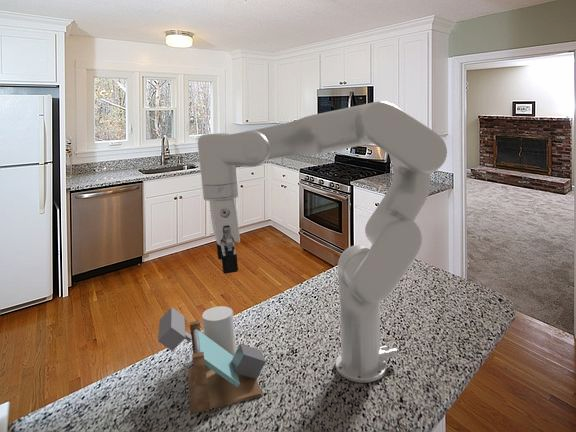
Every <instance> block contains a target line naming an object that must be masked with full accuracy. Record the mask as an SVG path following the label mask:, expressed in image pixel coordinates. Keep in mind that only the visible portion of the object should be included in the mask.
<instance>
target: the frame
mask: <svg viewBox="0 0 576 432" xmlns="http://www.w3.org/2000/svg"><path fill="white" fill-rule="evenodd" d="M200 323H201V322H200V320H195V321H189V330H190V335H191V337H192V340H191V346H192V347H191V348H192V353H191V356H192V357H191V358H192V367H190V368H187V380H188V382H187V383H188V395H189V396H188V399H189V413H190V414H195V413H202V412H205V411H210V410H212V409H215V408H218V407H223V406H227V405H233V404H235V403H240V402H244V401H247V400H252V399H256V398H261V397H263V393H262V391H261V388H260V385H259V381H258V378H257V379H254V378H250V377H247V376H244V375H240V374H238V378H239V382H240V385H239V386H238V387H236V386H234V385H233V384H232V383H230V382H229V381H227V380H226V379H224V378H223V377H222V376H220V375H219V374H217V373H216V372H214V371H213V370H211V369H210V368H209V367H207V366H206V365H205V360H204V352H200V353H195V342H194V332H193V330H194V329H195V328H197V330H199V331H200V332H201V333H202V331H201V324H200Z"/></svg>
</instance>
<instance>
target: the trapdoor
mask: <svg viewBox="0 0 576 432" xmlns="http://www.w3.org/2000/svg"><path fill="white" fill-rule="evenodd" d="M185 319H186V318H185V316H184V315H183V314H182V313H180V312H179V311H178V310H176V309H175V308H174V307H172V306H171V307H170V308H169V309H168V310H167V311H166V312H165V313H164V314H163V316H161V317H160V318H159V325H158V335H157V338H158V339H157V342H158V343H160V344H162V345H163V346H164V347H166V349H169V350H170V351H172V352H174V351H175V349H177V347H178V346H179V345H180V344H181V343H182V342H183V341H184V340H186V341H187V342H189V343H190V342H192V337H191V333H189V332H187V330H186V322H185V321H186V320H185ZM200 331H201V330H200ZM200 331H199V330H197V328H195V329H194V330H193V332H194V342H195V353H200V352H204V360H205V365H206V366H207V367H209V368H210V369H211V370H213V371H214V372H216V373H217V374H219V375H220V376H222V377H223V378H224V379H226V380H227V381H229V382H230V383H232V384H233V385H234V386H236V387H238V386H239V385H240V382H239V378H238V374H237V373H234V369H233V365H232V359H233V357H234V356H233V355H231V354H230V353H229V352H227V351H226V350H225V349H223V348H222V347H220V346H219V345H218V344H216V343H215V342H214V341H212V340H211V339H210V338H208V337H207V336H205V335H204V332H202V331H201V332H200Z"/></svg>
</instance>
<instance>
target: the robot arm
mask: <svg viewBox="0 0 576 432" xmlns="http://www.w3.org/2000/svg"><path fill="white" fill-rule="evenodd" d="M369 144H371V145H373V144H374V145H375V146H377V147H378V148H379V149H380V150H382V151H384V152H385V153H387V154H388V155H389V159H390V162H391V164H392V168H393V178H392V182H391V184H390V186H389V188H388V190H387V191H386V193H385V194H384V196H383V198H382V199H381V201H380V202H379V204H378V205H377V207H376V208H375V210H374V211H373V213H372V214H371V215H370V217H369V219H368V220H367V222H366V224H365V228H364V231H365V236H366V238H367V241H369V242H370V243H371V246H370V248H369V247H366V246H364V245H358V244H357V245H351V246H349V247H347V248H346V249H344V250H343V252H342V253H341V254H340V256H339V259H338V262H337V276H338V277H337V278H338V286H339V287H338V288H339V299H340V302H339V303H340V304H339V305H340V311H339V312H340V344H341V345H340V352H341V353H340V354H338V356H337V357H336V359H335V362H334V365H335V370H336V372H337V373H338V374H339V375H340V376H341V377H342V378H344V379H345V380H346V379H347V381H351V382H355V383H360V384H361V383H363V384H364V383H372V382H375V381H378V380H380V379H382V378H383V377H384V375H385V374H386V372H387V363H386V361H387V359H389V358H394V357H397V356H398V350H397V348H395V347H394V348H390V349H388V346H387V345H381V302H382V301H384V300H385V299H386V298H387V297H388V296H390V295H391V293H393V291H394V290H395V288H396V287H397V286H398V284H399V282H400V281H401V280H402V278H403V277H404V275H406V272H407V271H408V270H409V269H410V267H411V265H412V264H413V262H414V261H415V259H416V258H417V256H418V255H419V253H420V251H421V248H422V243H423V242H422V241H423V235H422V231H421V229H420V227H419V226H418V225H417V223H416V222H415V219H416V218H417V216H418V215H419V213H420V211H422V210H421V209H422V208H423V207H424V205H425V203H426V201H427V199H428V196H429V193H430V189H431V173H434V172H436V171H438V170H439V169H441V167H442V166H443V165H444V164H445V162H446V159H447V156H448V155H447V154H448V148H447V145H446V144H447V143H446V142H445V140H444V139H443V138H442V137H441V136H440V134H438V133H437V132H436V131H434V130H433V129H431V128H430V127H428V126H427V125H426V124H424V123H422V122H421V121H419V120H418V119H416V118H415V117H413V116H412V115H410V114H408V113H407V112H405V111H404V110H402V109H401V108H399V107H398V106H397V105H395V104H394V103H390V102H388V101H385V100H384V101H383V100H378V101H373V102H369V103H364V104H359V105H354V106H350V107H345V108H340V109H336V110H330V111H325V112H320V113H316V114H311V115H308V116H304V117H302V118H299V119H295V120H292V121H290V122H286V123H281V124H277V125H272V126H268V127H262V128H257V129H252V130H245V131H241V132H237V133H225V132H221V133H220V132H219V133H207V134H202V135H200V136H198V139H197V148H198V149H197V151H198V159H199V167H200V176H201V179H200V180H201V186H202V187H201V188H202V195H203V200H204V201H207V202H209V209H210V217H211V224H212V225H211V227H212V232H213V235H214V238H215V241H216V249H217V251H216V252H217V259H218V260H220V261H221V264H222V273H223V274H227V275H228V274H231V273H237V272H238V271H239V267H238V266H239V265H238V255H237V251H236V246H235V243H237V244H239V243H240V242H241V235H240V229H239V220H238V212H237V207H236V201H235V200H236V199H237V198H238V197H239V191H238V177H237V176H238V175H237V168H236V167H244V168H245V167H247V168H256V167H260V166H262V165H263V164H265V162H266V161H270V160H274V159H278V158H279V159H280V158H285V157H290V156H291V157H292V156H297V155H298V156H299V155H302V156H303V155H305V156H315V155H316V156H317V155H323V154H326V153H327V154H328V153H331V152H336V151H341V150H345V149H351V148H355V147H360V146H364V145H365V146H366V145H369Z"/></svg>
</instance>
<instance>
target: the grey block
mask: <svg viewBox="0 0 576 432" xmlns="http://www.w3.org/2000/svg"><path fill="white" fill-rule="evenodd" d="M266 362H267V361H266V359H265V356H264V354H263V351H262V349H258V348H255V347H252V346H250V345H248V344H247V345H246V344H243V343H239V346H238V347H237V348H236V353H235V355H234V356H233V359H232V365H233V369H234V373H237V374H240V375H244V376H247V377H250V378H254V379H257V380H258V377H259V376H260V374H261V372H262V370H263V368H264V366H265V364H266Z"/></svg>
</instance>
